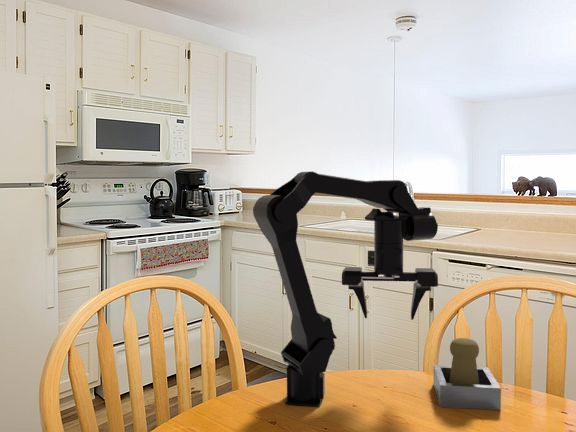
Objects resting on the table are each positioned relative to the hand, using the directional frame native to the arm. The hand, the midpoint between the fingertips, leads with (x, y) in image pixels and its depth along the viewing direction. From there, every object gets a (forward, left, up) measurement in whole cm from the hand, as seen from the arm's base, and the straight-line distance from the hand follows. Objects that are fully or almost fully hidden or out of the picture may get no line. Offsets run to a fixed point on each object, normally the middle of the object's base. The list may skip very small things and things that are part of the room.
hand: (388, 318), depth 105 cm
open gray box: (+14, -6, -13) cm, 20 cm away
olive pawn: (+14, -6, -13) cm, 20 cm away
